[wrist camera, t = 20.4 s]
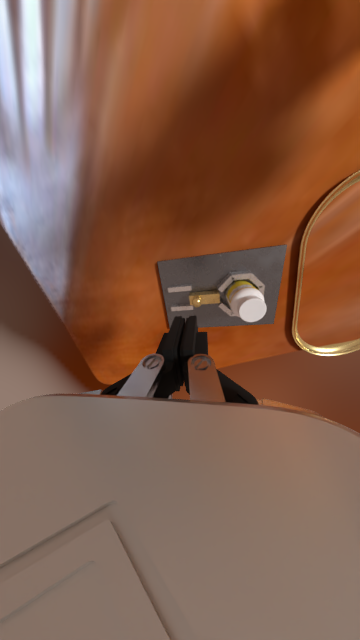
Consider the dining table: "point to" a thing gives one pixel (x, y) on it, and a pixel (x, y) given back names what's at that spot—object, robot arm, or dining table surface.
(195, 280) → the dock
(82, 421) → the robot arm
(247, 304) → the supplement bottle
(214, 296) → the bolt
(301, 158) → the dining table surface
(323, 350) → the gold oval ring
